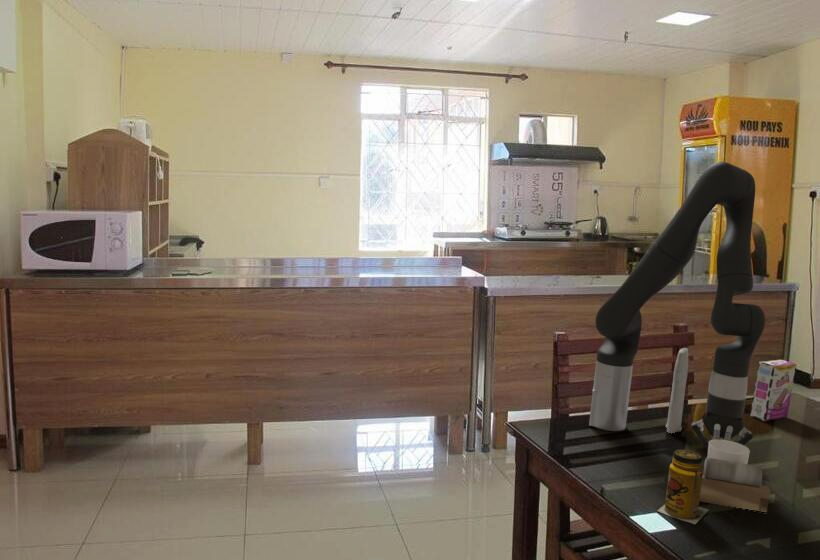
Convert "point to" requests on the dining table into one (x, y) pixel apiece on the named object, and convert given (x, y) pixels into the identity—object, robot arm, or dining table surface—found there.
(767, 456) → the dining table surface
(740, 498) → the bay
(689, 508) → the condiment
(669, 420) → the tall pale column
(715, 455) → the white cup
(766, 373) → the candy bar box
